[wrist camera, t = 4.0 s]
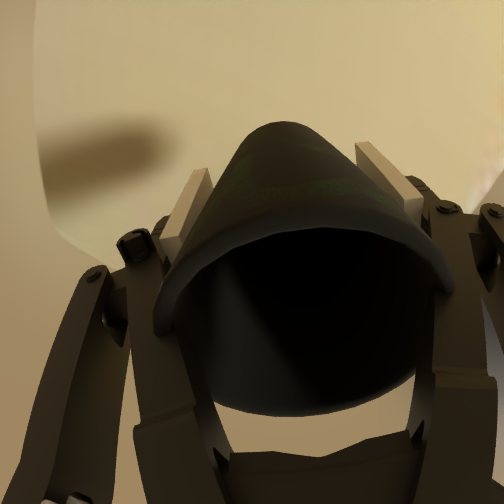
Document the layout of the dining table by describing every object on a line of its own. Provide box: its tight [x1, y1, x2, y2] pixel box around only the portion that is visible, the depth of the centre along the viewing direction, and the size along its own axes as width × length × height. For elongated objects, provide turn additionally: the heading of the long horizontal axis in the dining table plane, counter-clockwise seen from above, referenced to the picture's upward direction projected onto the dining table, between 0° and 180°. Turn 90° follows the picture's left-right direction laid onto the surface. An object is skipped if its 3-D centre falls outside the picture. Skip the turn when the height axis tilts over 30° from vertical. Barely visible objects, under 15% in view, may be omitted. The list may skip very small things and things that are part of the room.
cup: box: [152, 121, 456, 417], centre depth 12 cm, size 8×8×12 cm
